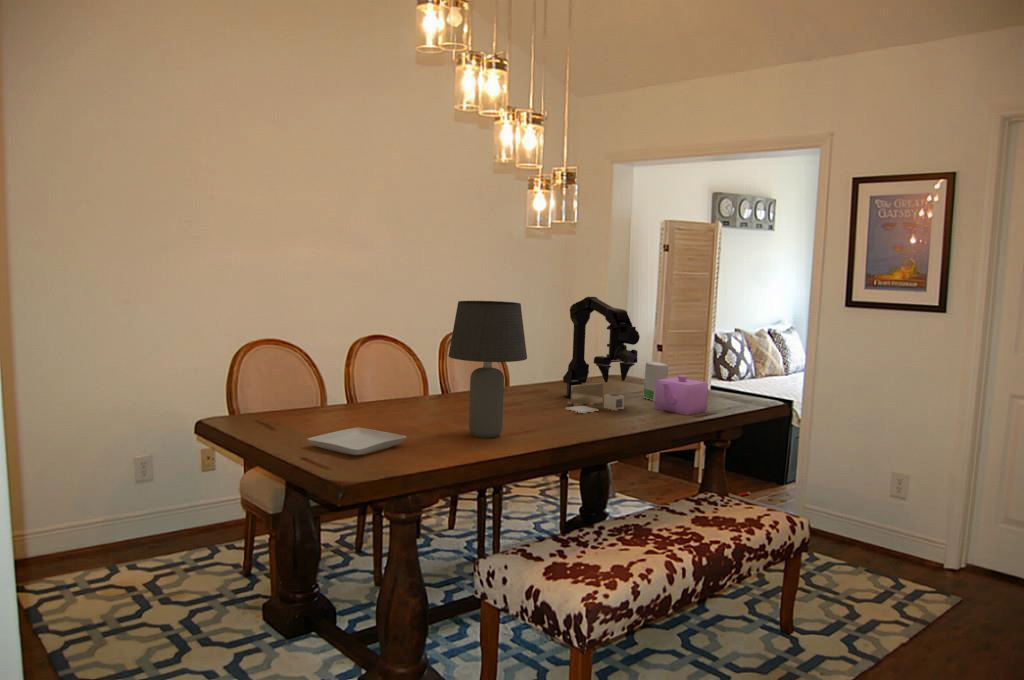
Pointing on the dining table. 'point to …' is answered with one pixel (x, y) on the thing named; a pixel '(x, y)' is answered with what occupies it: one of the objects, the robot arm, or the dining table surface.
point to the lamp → (487, 356)
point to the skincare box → (653, 378)
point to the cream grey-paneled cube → (614, 401)
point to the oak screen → (586, 394)
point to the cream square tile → (582, 409)
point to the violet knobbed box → (681, 395)
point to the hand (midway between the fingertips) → (614, 381)
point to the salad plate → (357, 441)
